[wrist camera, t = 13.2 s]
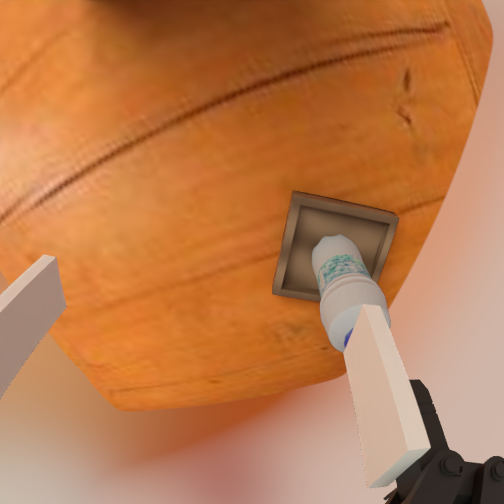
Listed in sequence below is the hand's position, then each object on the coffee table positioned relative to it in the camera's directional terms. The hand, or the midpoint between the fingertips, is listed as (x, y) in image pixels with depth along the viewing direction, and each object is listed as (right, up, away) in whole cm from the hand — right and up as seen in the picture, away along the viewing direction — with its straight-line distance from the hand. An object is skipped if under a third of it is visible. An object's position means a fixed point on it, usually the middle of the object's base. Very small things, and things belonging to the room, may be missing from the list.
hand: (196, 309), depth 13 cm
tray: (+13, +3, +30) cm, 33 cm away
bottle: (+13, +2, +30) cm, 32 cm away
